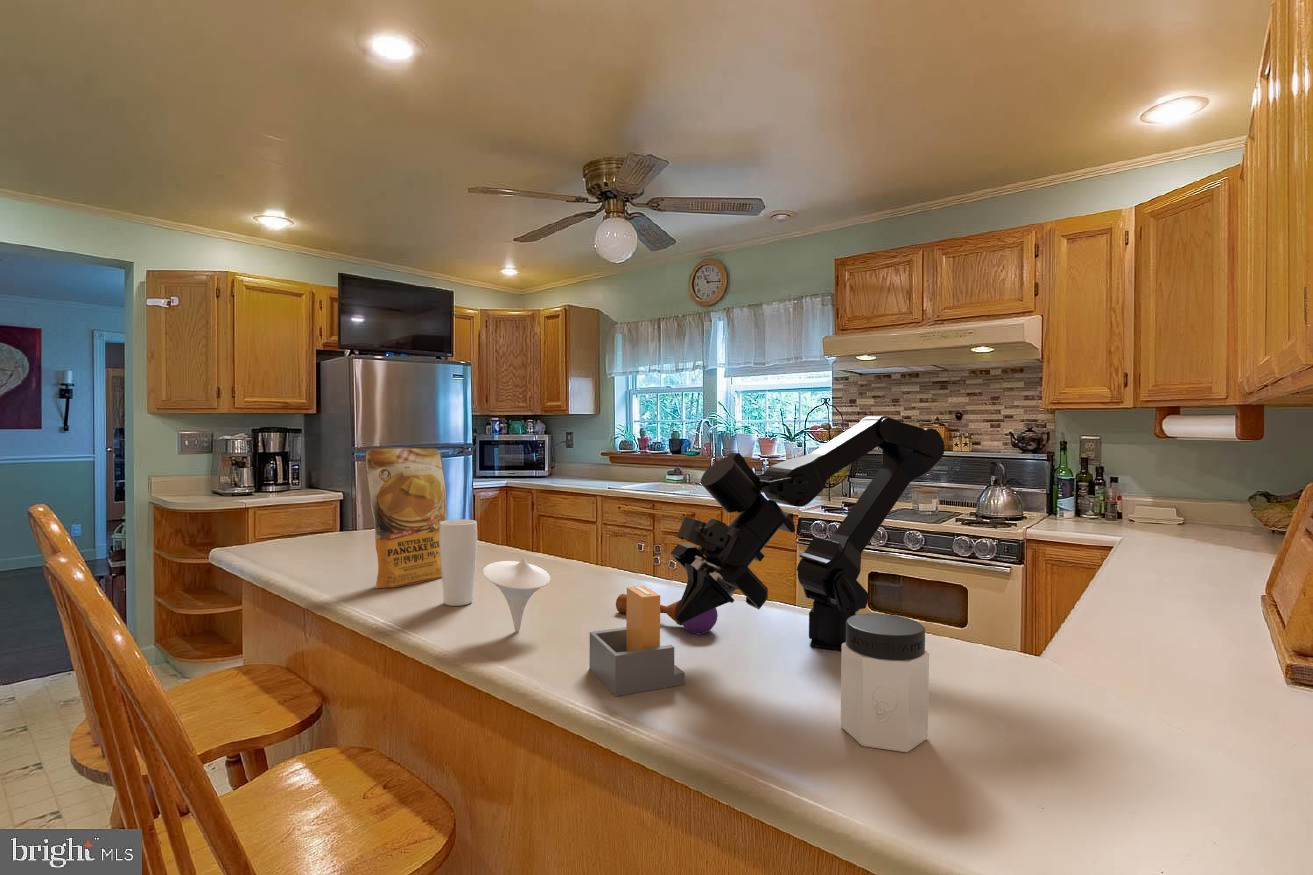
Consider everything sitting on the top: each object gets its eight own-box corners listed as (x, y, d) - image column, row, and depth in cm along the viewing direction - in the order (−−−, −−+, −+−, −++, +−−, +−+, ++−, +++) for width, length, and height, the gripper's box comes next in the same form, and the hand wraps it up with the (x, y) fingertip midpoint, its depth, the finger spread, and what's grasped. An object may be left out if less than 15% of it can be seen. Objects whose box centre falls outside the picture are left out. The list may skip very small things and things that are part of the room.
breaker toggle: (643, 654, 91) (643, 584, 91) (659, 667, 86) (660, 594, 86) (626, 656, 90) (626, 586, 90) (642, 670, 85) (642, 596, 85)
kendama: (635, 586, 120) (725, 597, 107) (632, 620, 119) (723, 635, 106) (611, 585, 116) (703, 597, 103) (609, 621, 115) (700, 637, 102)
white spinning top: (564, 628, 107) (564, 555, 107) (513, 647, 98) (513, 566, 98) (520, 617, 113) (520, 547, 113) (468, 633, 104) (468, 557, 104)
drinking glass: (485, 601, 123) (485, 521, 123) (456, 610, 117) (456, 525, 117) (460, 596, 127) (460, 518, 126) (431, 604, 121) (430, 522, 120)
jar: (839, 744, 69) (840, 630, 69) (841, 712, 77) (843, 609, 77) (931, 758, 67) (933, 639, 66) (924, 723, 74) (926, 617, 74)
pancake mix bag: (357, 587, 133) (356, 448, 132) (440, 570, 148) (440, 445, 147) (374, 592, 129) (373, 449, 128) (458, 575, 144) (458, 446, 143)
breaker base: (653, 658, 94) (653, 623, 94) (684, 684, 85) (685, 645, 85) (589, 668, 90) (589, 631, 90) (615, 696, 81) (615, 655, 81)
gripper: (683, 489, 100) (614, 568, 96) (749, 504, 83) (668, 600, 79) (727, 538, 103) (663, 616, 99) (800, 561, 86) (725, 656, 82)
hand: (677, 620), depth 90 cm, fingers closed
